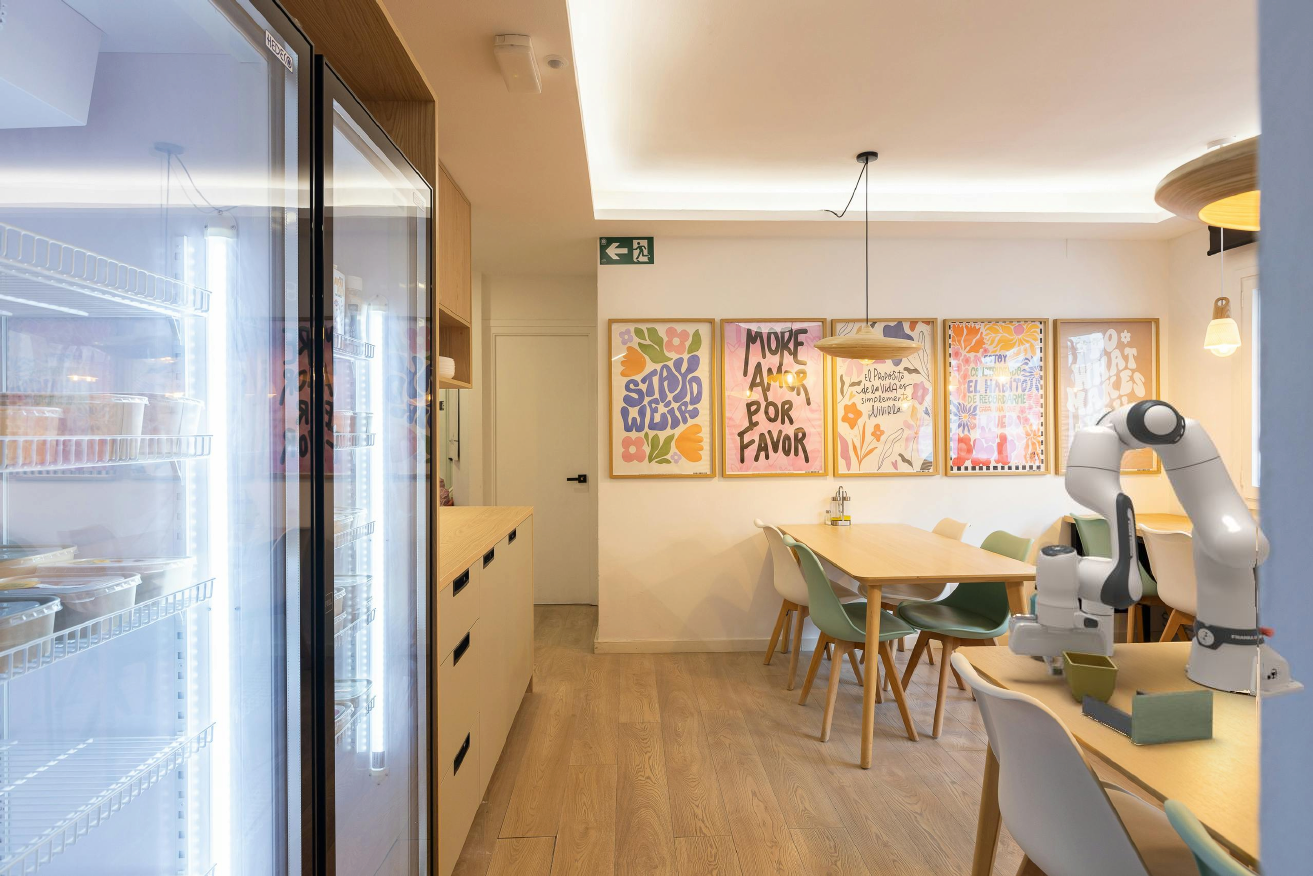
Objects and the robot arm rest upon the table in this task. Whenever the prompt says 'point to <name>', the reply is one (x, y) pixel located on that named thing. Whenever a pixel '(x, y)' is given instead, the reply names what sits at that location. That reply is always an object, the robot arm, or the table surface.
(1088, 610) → the cylindrical container
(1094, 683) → the flower pot
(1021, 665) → the table surface
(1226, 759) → the table surface
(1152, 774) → the table surface
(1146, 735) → the bracket
